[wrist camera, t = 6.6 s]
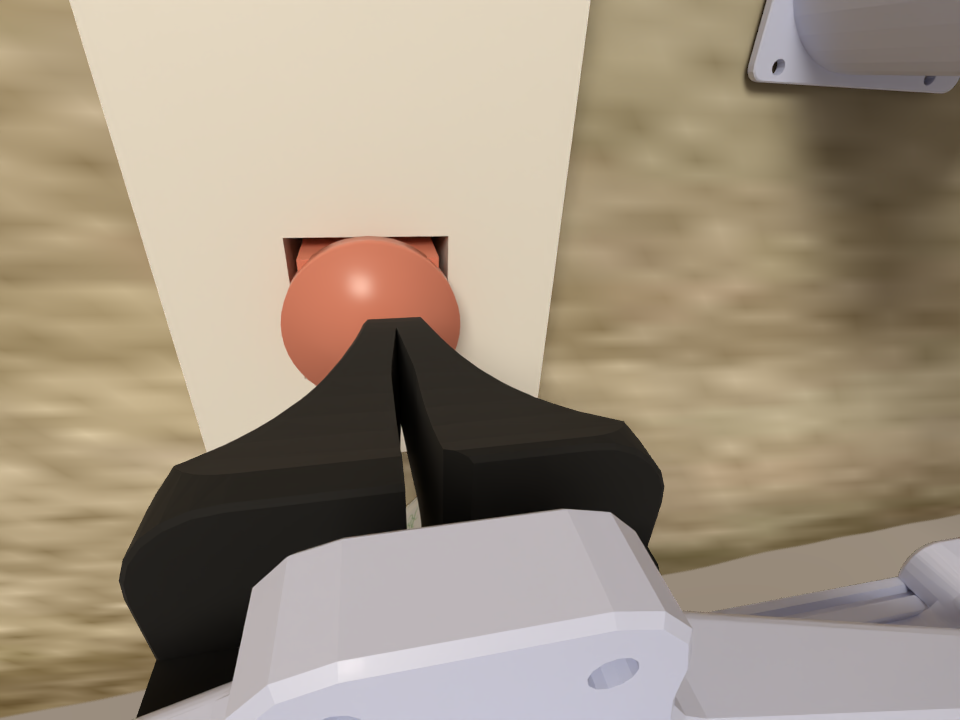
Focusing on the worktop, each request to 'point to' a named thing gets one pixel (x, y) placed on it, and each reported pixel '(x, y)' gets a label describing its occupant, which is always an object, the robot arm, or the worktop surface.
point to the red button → (361, 295)
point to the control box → (337, 165)
